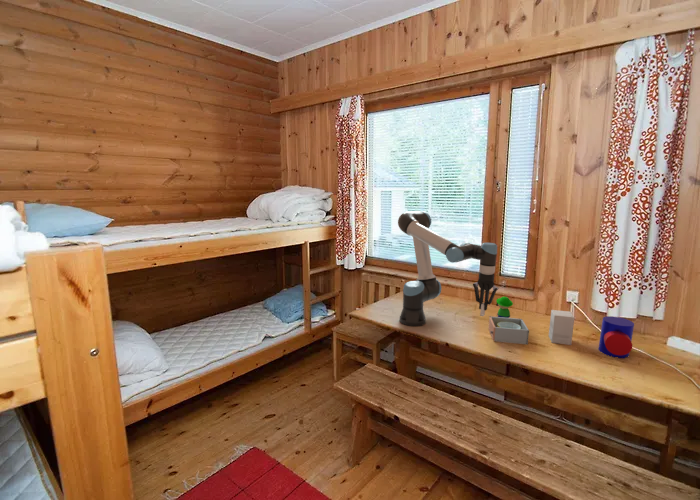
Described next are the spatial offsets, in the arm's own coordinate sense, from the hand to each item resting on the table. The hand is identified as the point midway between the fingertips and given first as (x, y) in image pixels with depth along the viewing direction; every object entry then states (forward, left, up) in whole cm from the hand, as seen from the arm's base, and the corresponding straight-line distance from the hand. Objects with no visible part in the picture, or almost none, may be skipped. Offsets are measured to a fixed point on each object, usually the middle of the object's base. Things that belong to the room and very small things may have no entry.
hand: (482, 315), depth 190 cm
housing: (+13, +1, -11) cm, 17 cm away
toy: (+15, +23, -11) cm, 30 cm away
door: (+5, +2, -11) cm, 12 cm away
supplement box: (+39, +2, -11) cm, 41 cm away
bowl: (+14, +1, -11) cm, 18 cm away
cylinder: (+60, -6, -11) cm, 61 cm away
